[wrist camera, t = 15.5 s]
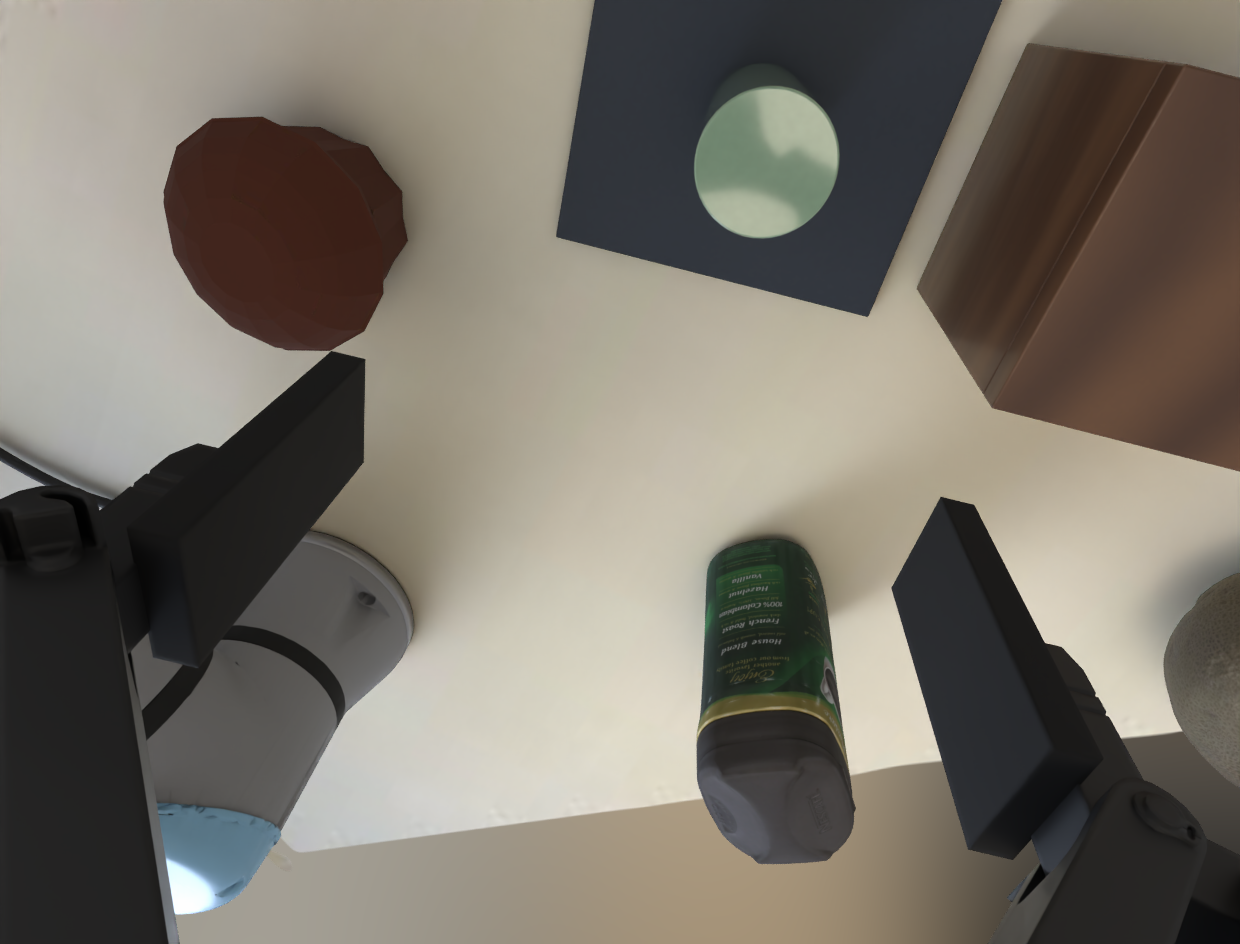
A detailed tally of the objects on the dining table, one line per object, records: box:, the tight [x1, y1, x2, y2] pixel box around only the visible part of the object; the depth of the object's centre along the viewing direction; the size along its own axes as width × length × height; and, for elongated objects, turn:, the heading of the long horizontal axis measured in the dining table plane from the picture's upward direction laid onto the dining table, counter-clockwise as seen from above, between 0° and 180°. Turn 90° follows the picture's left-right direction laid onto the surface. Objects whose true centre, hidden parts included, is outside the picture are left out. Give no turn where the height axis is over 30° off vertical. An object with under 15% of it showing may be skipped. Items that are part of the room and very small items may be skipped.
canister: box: [694, 63, 840, 239], centre depth 32 cm, size 5×5×12 cm
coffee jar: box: [697, 539, 856, 864], centre depth 45 cm, size 10×8×19 cm
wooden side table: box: [917, 43, 1240, 471], centre depth 31 cm, size 16×12×14 cm
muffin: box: [164, 117, 408, 351], centre depth 39 cm, size 12×11×10 cm
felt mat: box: [556, 0, 1002, 317], centre depth 37 cm, size 18×16×1 cm
